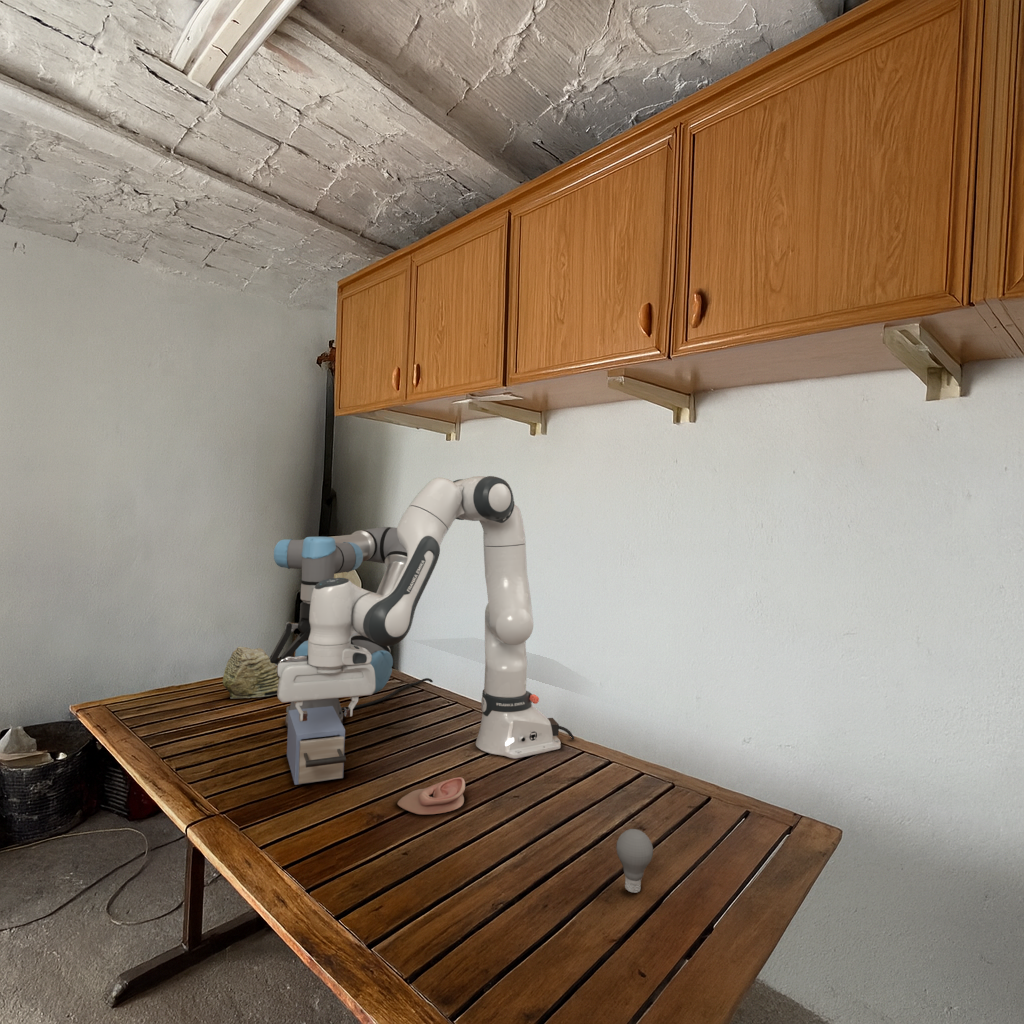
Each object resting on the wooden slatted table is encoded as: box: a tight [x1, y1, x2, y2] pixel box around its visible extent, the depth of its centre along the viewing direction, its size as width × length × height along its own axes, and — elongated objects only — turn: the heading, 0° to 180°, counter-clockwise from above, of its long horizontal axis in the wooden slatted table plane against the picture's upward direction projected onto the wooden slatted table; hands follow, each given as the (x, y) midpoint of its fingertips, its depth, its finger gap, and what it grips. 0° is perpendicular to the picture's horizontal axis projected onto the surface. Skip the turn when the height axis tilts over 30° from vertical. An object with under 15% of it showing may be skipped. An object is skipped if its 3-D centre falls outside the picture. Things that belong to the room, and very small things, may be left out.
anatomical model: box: [397, 776, 466, 816], centre depth 133 cm, size 13×4×12 cm
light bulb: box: [615, 828, 654, 894], centre depth 106 cm, size 6×6×10 cm
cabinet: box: [286, 706, 346, 786], centre depth 148 cm, size 17×10×11 cm, turn 25°
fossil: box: [222, 646, 279, 699], centre depth 198 cm, size 9×18×15 cm, turn 132°
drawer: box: [298, 735, 347, 785], centre depth 143 cm, size 22×9×9 cm, turn 25°
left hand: (313, 689), depth 152 cm, fingers open, 13 cm apart
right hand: (326, 718), depth 136 cm, fingers open, 8 cm apart
